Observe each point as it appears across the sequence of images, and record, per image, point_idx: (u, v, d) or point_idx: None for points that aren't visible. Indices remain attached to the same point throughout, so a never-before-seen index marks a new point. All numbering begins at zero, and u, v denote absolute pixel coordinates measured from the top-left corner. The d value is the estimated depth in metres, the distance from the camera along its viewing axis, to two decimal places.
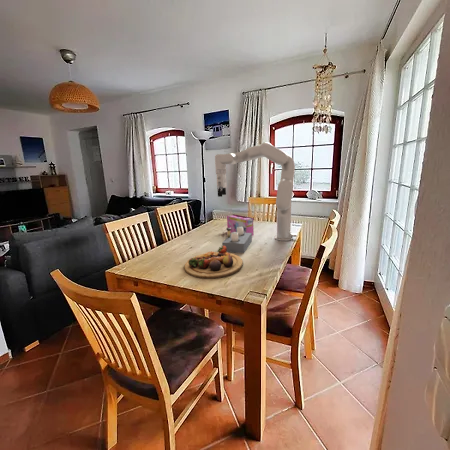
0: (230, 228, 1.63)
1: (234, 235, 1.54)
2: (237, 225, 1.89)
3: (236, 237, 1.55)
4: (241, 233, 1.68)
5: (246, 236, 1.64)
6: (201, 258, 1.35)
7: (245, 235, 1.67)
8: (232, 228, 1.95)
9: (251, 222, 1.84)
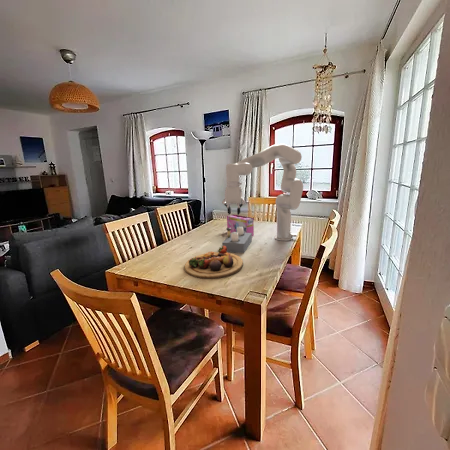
0: (230, 228, 1.63)
1: (234, 235, 1.54)
2: (237, 225, 1.89)
3: (236, 237, 1.55)
4: (241, 233, 1.68)
5: (246, 236, 1.64)
6: (201, 258, 1.35)
7: (245, 235, 1.67)
8: (232, 228, 1.94)
9: (251, 222, 1.84)
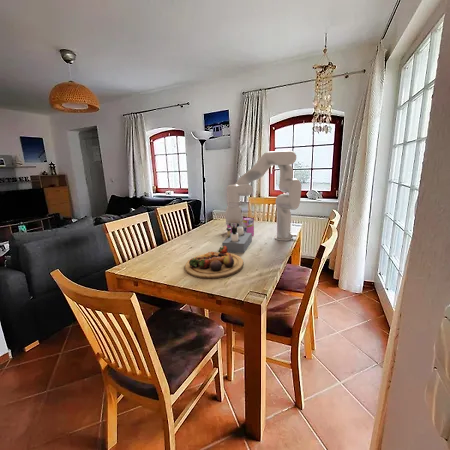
0: (230, 228, 1.63)
1: (234, 236, 1.54)
2: None
3: (236, 238, 1.55)
4: (241, 233, 1.68)
5: (246, 236, 1.64)
6: (202, 258, 1.34)
7: (245, 235, 1.67)
8: None
9: (251, 222, 1.84)
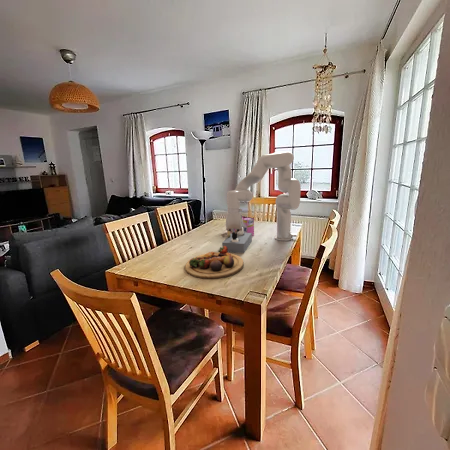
0: None
1: (234, 241, 1.55)
2: None
3: None
4: (241, 233, 1.68)
5: (246, 236, 1.64)
6: (202, 258, 1.34)
7: (245, 235, 1.67)
8: None
9: (252, 222, 1.84)
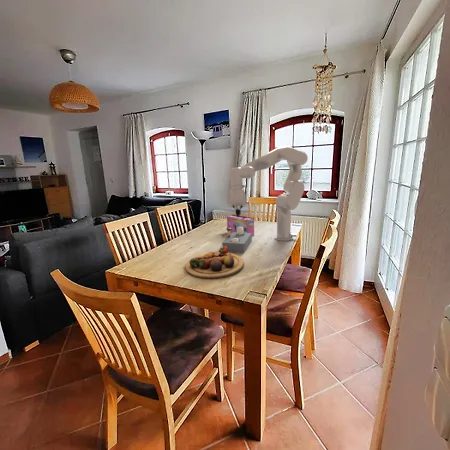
0: (230, 228, 1.63)
1: (234, 241, 1.55)
2: (238, 225, 1.88)
3: None
4: (241, 233, 1.68)
5: (246, 236, 1.64)
6: (202, 258, 1.34)
7: (245, 235, 1.67)
8: (232, 228, 1.93)
9: (252, 222, 1.84)
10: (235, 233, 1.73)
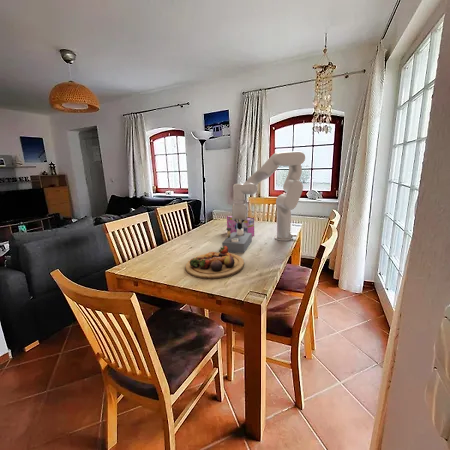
0: (230, 228, 1.63)
1: (234, 241, 1.55)
2: None
3: None
4: (241, 235, 1.68)
5: (246, 236, 1.64)
6: (202, 258, 1.34)
7: (245, 235, 1.67)
8: (232, 229, 1.93)
9: (252, 222, 1.84)
10: (235, 233, 1.73)
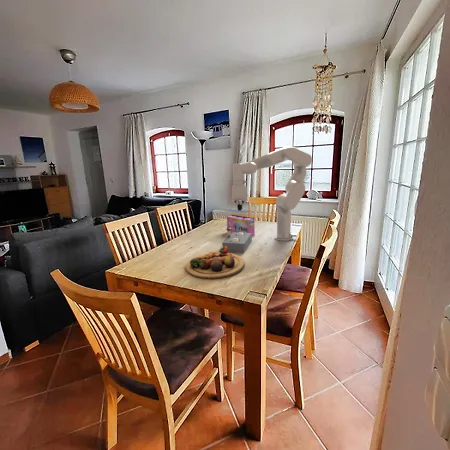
0: (230, 228, 1.63)
1: (234, 241, 1.55)
2: (238, 226, 1.87)
3: None
4: None
5: (246, 236, 1.64)
6: (202, 258, 1.34)
7: (245, 235, 1.67)
8: (232, 229, 1.93)
9: (252, 222, 1.83)
10: (235, 233, 1.73)
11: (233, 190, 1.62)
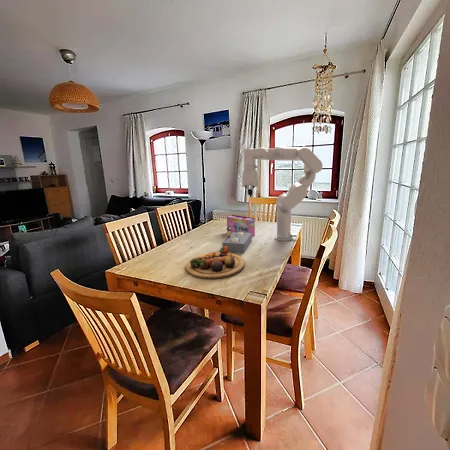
0: (230, 228, 1.63)
1: (234, 241, 1.55)
2: (238, 226, 1.87)
3: None
4: None
5: (246, 236, 1.64)
6: (203, 258, 1.34)
7: (245, 235, 1.67)
8: (232, 229, 1.92)
9: (252, 222, 1.83)
10: (235, 233, 1.73)
11: (244, 175, 1.64)
